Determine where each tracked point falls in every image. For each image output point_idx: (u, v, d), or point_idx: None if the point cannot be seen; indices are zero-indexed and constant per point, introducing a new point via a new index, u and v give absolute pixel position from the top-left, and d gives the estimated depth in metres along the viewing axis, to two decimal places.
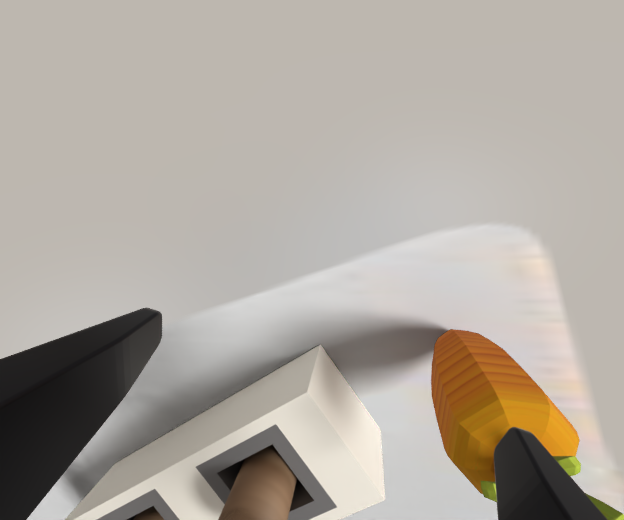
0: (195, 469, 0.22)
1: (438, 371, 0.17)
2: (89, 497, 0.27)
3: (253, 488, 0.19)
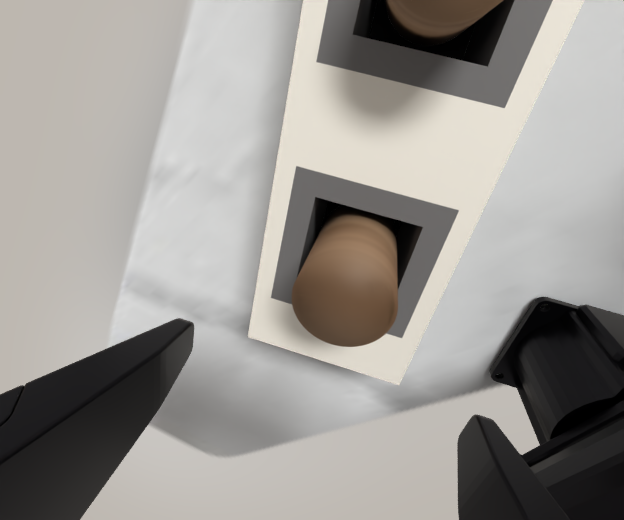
0: (320, 66, 0.12)
1: None
2: None
3: None
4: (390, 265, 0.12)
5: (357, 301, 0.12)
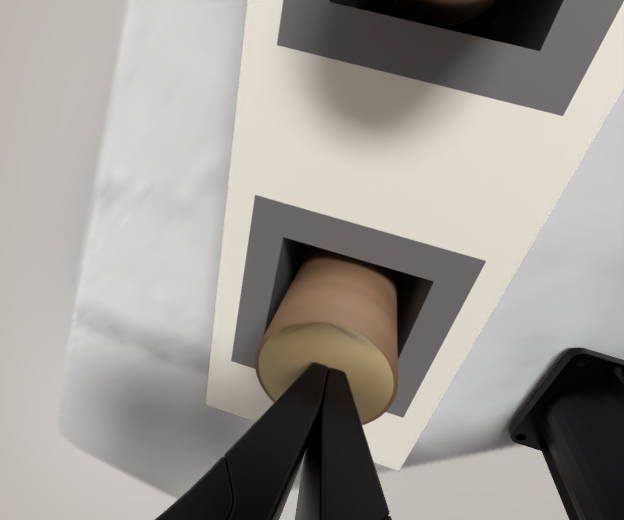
0: (283, 52, 0.08)
1: None
2: None
3: None
4: (388, 323, 0.09)
5: None
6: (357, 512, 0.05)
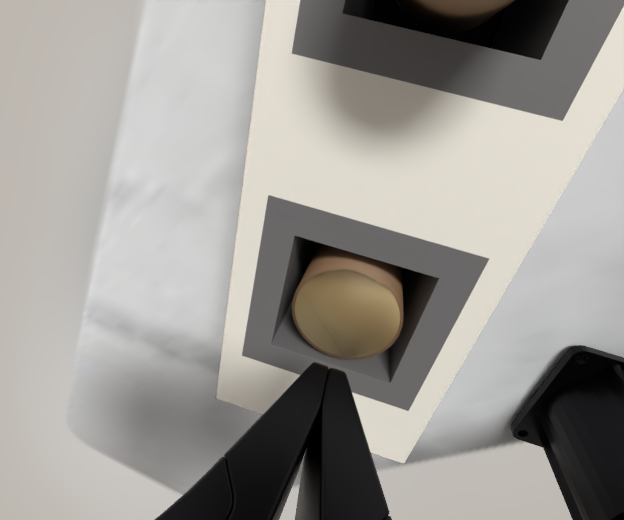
0: (297, 60, 0.08)
1: None
2: None
3: None
4: (395, 275, 0.12)
5: (360, 312, 0.11)
6: (357, 512, 0.05)
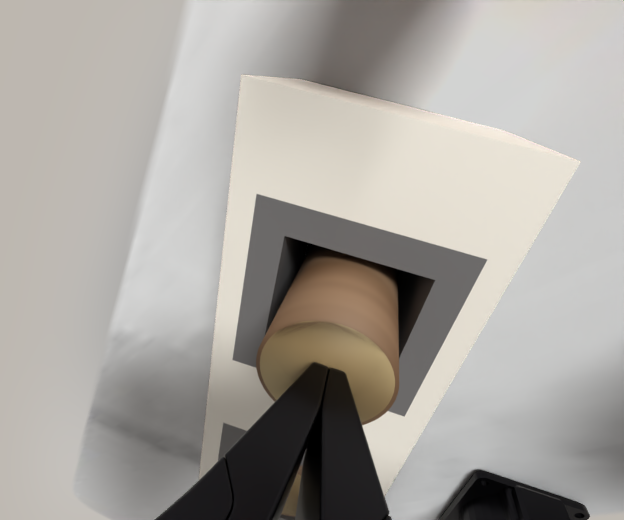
0: (236, 363, 0.13)
1: None
2: None
3: (286, 304, 0.09)
4: None
5: (293, 491, 0.15)
6: (357, 512, 0.05)
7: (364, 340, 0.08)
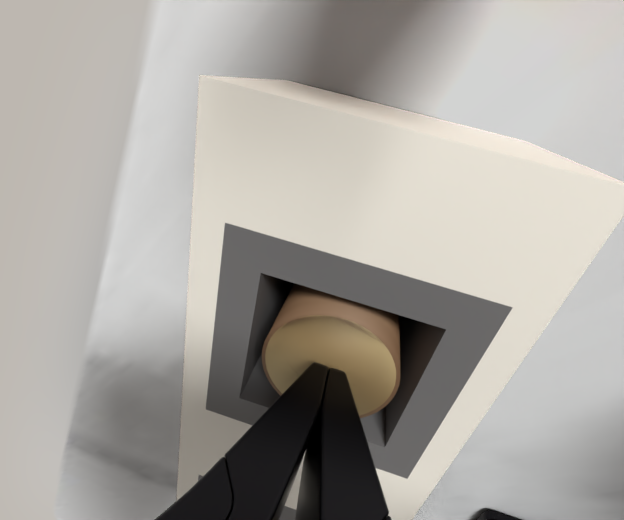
0: (210, 412, 0.11)
1: None
2: None
3: (291, 299, 0.10)
4: None
5: None
6: (357, 512, 0.05)
7: (366, 333, 0.08)
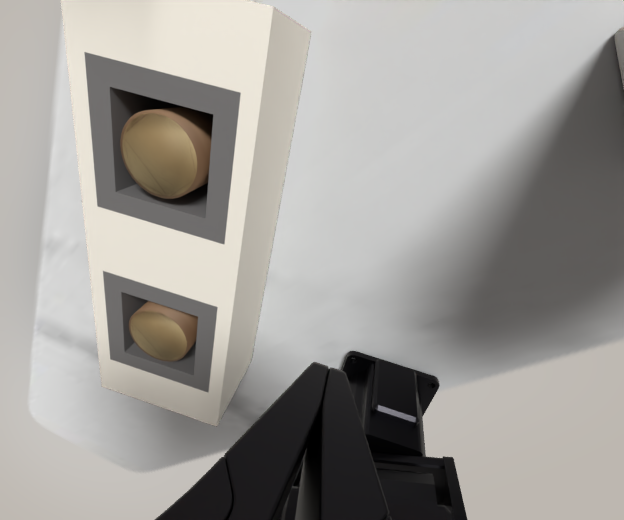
0: (100, 209, 0.16)
1: None
2: None
3: None
4: None
5: (165, 334, 0.19)
6: (357, 512, 0.05)
7: (173, 123, 0.14)
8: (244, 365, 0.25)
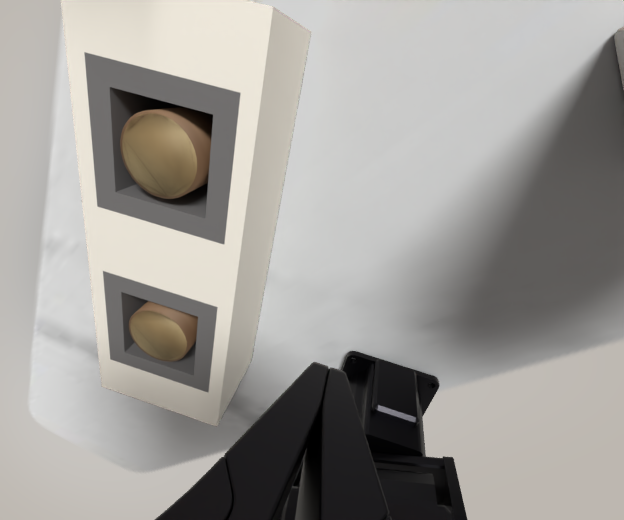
0: (100, 209, 0.17)
1: None
2: None
3: None
4: None
5: (165, 334, 0.19)
6: (357, 512, 0.05)
7: (173, 124, 0.14)
8: (244, 365, 0.25)
